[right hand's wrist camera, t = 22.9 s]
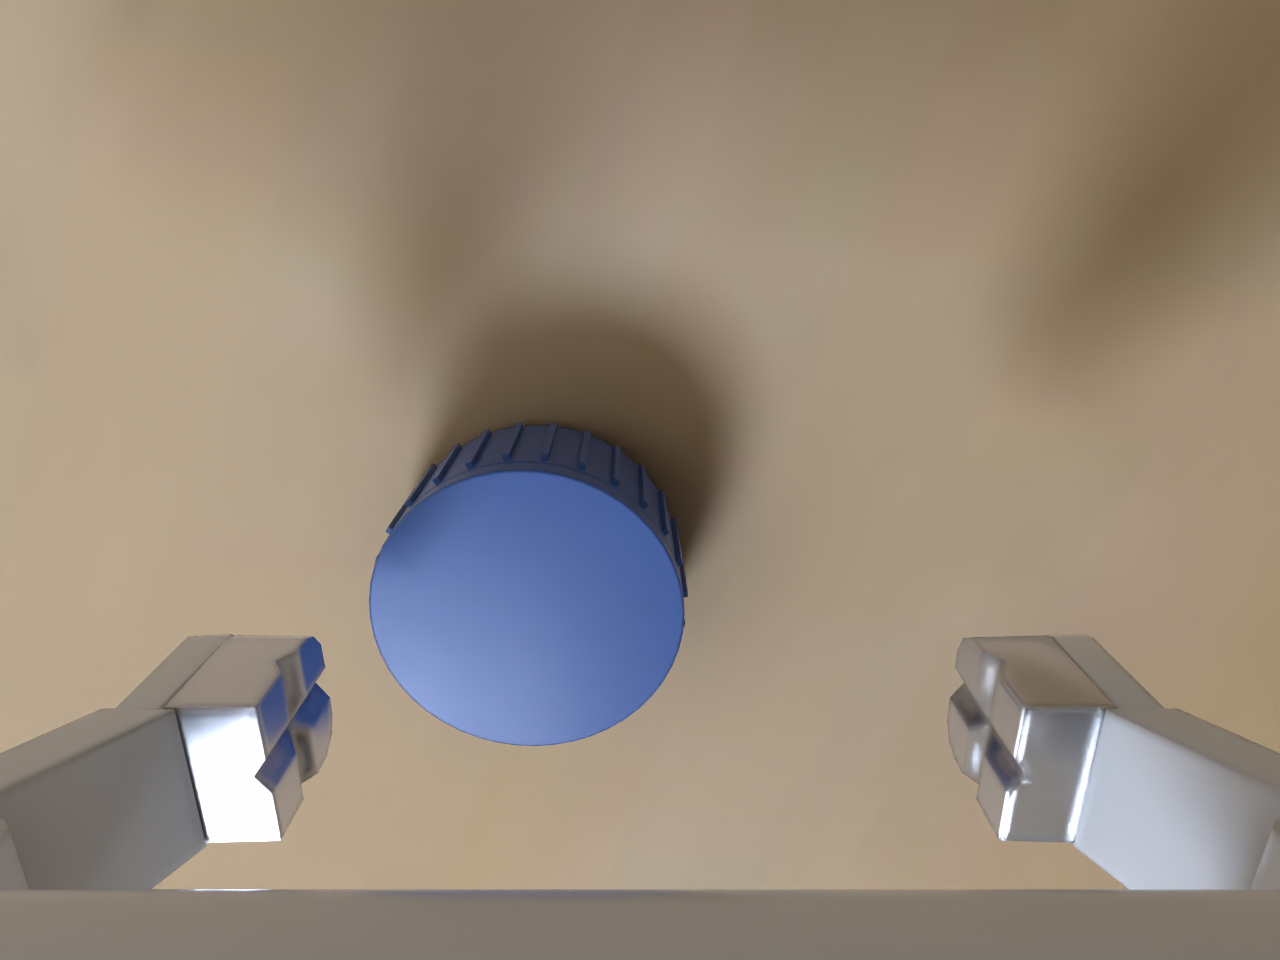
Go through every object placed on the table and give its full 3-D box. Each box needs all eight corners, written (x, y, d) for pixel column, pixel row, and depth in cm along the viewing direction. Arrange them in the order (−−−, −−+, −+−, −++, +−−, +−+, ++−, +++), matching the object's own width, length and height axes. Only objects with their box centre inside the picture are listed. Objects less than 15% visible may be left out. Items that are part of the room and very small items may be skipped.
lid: (406, 403, 13) (364, 445, 11) (700, 437, 14) (713, 485, 11) (398, 656, 15) (361, 735, 13) (660, 683, 15) (665, 764, 13)
